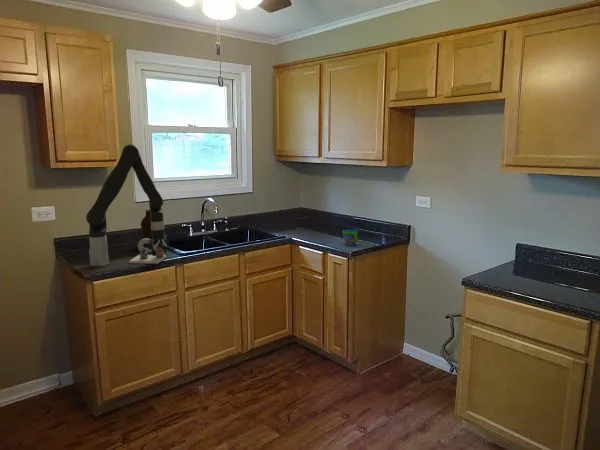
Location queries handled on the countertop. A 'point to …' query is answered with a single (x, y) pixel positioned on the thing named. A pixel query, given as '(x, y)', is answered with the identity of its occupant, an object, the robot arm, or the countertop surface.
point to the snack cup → (350, 237)
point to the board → (149, 260)
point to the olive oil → (146, 227)
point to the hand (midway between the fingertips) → (159, 254)
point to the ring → (159, 251)
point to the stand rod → (143, 254)
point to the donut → (142, 242)
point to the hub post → (159, 254)
